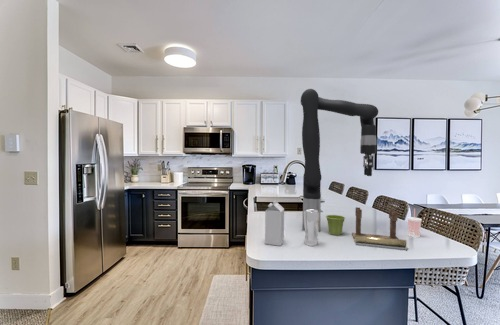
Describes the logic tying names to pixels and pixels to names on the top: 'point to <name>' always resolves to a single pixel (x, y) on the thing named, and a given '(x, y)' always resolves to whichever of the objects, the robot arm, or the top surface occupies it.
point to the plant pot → (335, 224)
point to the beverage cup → (414, 226)
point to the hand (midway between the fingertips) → (367, 175)
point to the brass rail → (380, 241)
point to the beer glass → (311, 226)
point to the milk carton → (274, 224)
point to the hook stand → (358, 213)
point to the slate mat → (380, 246)
